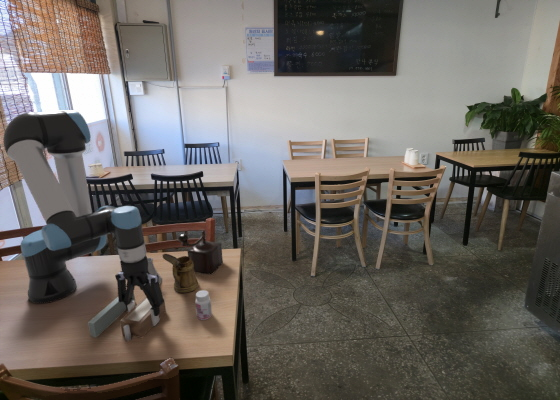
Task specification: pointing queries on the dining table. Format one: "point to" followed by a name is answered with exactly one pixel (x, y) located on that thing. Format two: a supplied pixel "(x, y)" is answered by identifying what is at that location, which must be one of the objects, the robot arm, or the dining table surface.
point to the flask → (152, 269)
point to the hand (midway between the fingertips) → (145, 321)
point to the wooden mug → (182, 273)
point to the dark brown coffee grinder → (203, 254)
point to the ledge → (109, 318)
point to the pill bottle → (203, 305)
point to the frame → (140, 318)
